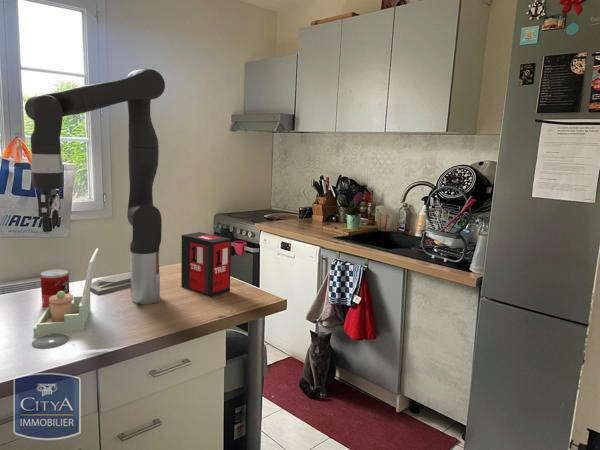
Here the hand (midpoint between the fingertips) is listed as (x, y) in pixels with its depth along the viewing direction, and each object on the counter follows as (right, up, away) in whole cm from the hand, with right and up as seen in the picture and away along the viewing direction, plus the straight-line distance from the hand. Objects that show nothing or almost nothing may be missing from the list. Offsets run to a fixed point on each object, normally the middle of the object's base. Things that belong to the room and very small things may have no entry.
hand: (51, 228), depth 123 cm
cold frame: (+1, -28, +4) cm, 28 cm away
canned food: (-8, -25, +17) cm, 32 cm away
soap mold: (+2, -22, +40) cm, 46 cm away
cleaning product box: (+35, -23, +40) cm, 58 cm away
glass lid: (+9, -13, +4) cm, 16 cm away
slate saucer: (+5, -30, -8) cm, 31 cm away
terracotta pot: (+1, -27, +4) cm, 27 cm away
